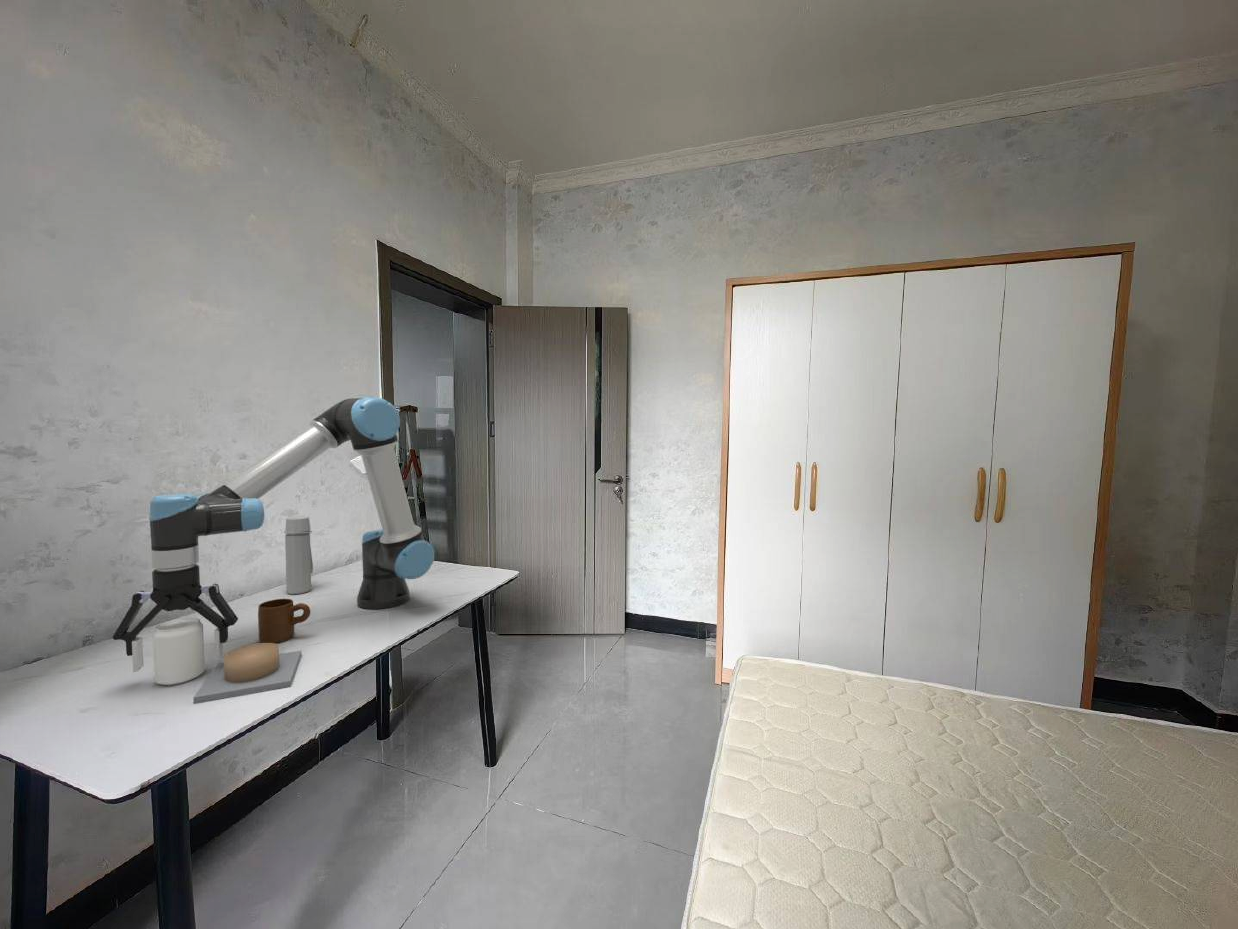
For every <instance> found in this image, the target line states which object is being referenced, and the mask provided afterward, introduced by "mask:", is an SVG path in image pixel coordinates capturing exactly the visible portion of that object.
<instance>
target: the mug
mask: <svg viewBox="0 0 1238 929" xmlns="http://www.w3.org/2000/svg"><path fill="white" fill-rule="evenodd" d="M300 610H302V612H303V613H302V615H298V616H295V612H297V611H300ZM310 615H311V608H310V606H309V605H308V604H306V603H303V602H302V603H301V602H300V603H296V604H294V600H293V599H291V598H278V599H271V600H270V599H269V600H267V601H264V602H262V603H260V604H259V605H258V611H257V620H258V621H257V623H258V624H257V625H258V640H259V643H275V644H279V643H280V644H281V643H283V642H286V641H288V640H291V639H292V638H293V637H294V635H295V626H296V624H300V623H301V624H302V623H303V622H306V621H307V620H308V619H309V617H310Z"/></svg>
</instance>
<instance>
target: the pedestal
mask: <svg viewBox="0 0 1238 929" xmlns="http://www.w3.org/2000/svg"><path fill="white" fill-rule="evenodd" d="M301 658H302V650H296V651H289V652H284V653H283V652H282V653H280V647H279V644H278V643H261V642H258V643H251V644H247V645H244V646H241V647H237V648H235V649H232V650H231V651H229V652H228V653H226V654H225V655H223V661H222V662H217V664H216V665H215V666H214V668H213V669H212V670H211V672H210V674H209V675H208V676H207V677H206V679H205V680H204V681H203V683H202V685H201V687H200V688H198V691H197V692H196V693H195V695H194V696H193V704H198V703H204V702H209V701H210V702H211V701H216V700H221V699H225V698H231V697H238V696H244V695H249V694H255V693H261V692H266V691H272V690H273V691H274V690H277V689H283V688H289V687H291V685H292V683H293V680H294V678H295V675H296V673H297V672H296V671H297V669H298V666H299V664H300V661H301Z"/></svg>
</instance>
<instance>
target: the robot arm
mask: <svg viewBox="0 0 1238 929" xmlns="http://www.w3.org/2000/svg"><path fill="white" fill-rule="evenodd" d="M400 425H401V417H400V414H399V412H398V410H397V408H396V407H395V406H394V404H392V403H391V402H389V401H388V400H386V399H384V398H380V397H375V396H374V397H373V396H365V397H356V398H354V397H353V398H346V399H343V400H341V401H339V402H337V403H335V404H334V405H333V406H331V407H329V408H328V409H326V410H325V411H323V412H322V413H321V414H319V415H318V416H317V417H315V418H314V419H312V420H311V421H310V422H309V426H308V427H307V428H306V429H304V430H303V431H301V432H300V433H298V434H297V435H295V436H293V437H292V438H291V439H289V440H288V441H286V442H285V443H284V444H282V445H280V446H279V447H277V448H276V449H274V450H273V451H271V452H270V453H269V454H267V455H265V456H264V457H263V458H261V459H259V460H258V461H256V462H255V463H253V464H252V465H250V466H248V467H247V468H246V469H245V470H243V471H241V472H240V473H238V474H237V475H236V476H234V477H233V478H231V479H230V480H228V481H227V482H225V483H224V484H223V485H221V486H219V487H217V488H215V490H213V491H211V492H210V493H205V494H201V495H199V496H198V497H197V496H196V495H195V494H193V493H171V494H162V495H161V494H160V495H157V496H153V497H152V499H151V500H150V502H149V517H148V520H149V530H150V532H149V533H150V534H149V535H150V547H151V548H150V549H151V550H150V552H151V555H150V556H151V568H152V569H154V570H153V571H152V573H151V575H152V576H151V577H152V592H151V591H146V592H145V591H144V590H139V591H138V592H135V594H133V595H132V597H131V605H130V606H129V608H128V610H127V612H126V613H125V615H124V617H123V619H121V620H122V621H121V622H120V623H119V624H118V625H119V626H118V627H117V628H116V631H115V632H114V634H113V635H112V639H113V640H114V641H118V640H119V641H120V640H121V641H124V642H125V651H126V656H127V657H130V656H131V657H132V671H133V672H132V673H137V672H139V671H140V670H141V669H142V668H144V646H143V645H144V644H143V636H138V635H139V634H140V633H141V632H142V631H143V630H144V629H146V627H147V626H148V625H149V624H150V622H152V620H154V618H155V617H156V616H157V615H159V613H160V612H161V611H162V610H163V611H166V612H172V611H176V610H179V611H183V610H184V611H185V610H187V609H189V608H190V609H191V610H192V611H193V612H197V614H199V615H200V616H202V617H204V619H206V621H208V622H209V623H210V624H212V625H213V626H215V627H216V629H215V630H214V632H213V633H214V658H215V661H217V660H220V659H222V657H223V656H224V643H227V641H228V639H229V627H230V626H231V627H232V626H234V625H235V624H236V623H237V622H238V620H239V617H238V616H237V615H236V613H235V611H234V610H233V609H232V608H231V606H230V605H229V604H228V602H227V600H226V599H225V597H223V595H222V594H221V591H220V587H219V584H218V583H213V584H212V585H209V586H203V587H202V586H201V583H200V582H201V579H200V576H201V575H200V566H199V565H198V563H199V562H200V557H199V556H200V555H199V553H200V552H199V551H200V550H199V538H200V537H205V536H206V537H207V536H212V535H214V536H215V535H223V534H229V533H238V532H245V533H246V532H249V531H252V530H257V529H260V528H261V527H262V526H263V524H264V522H265V509H264V508H265V507H264V505H263V503H262V501H261V500H260V499H261V498H262V497H263V496H264V495H266V494H267V493H268V492H270V491H271V490H273V489H274V488H275V487H277V486H278V485H280V484H281V483H283V482H284V481H286V480H287V479H288V478H290V477H291V476H292V475H294V474H295V473H297V472H298V471H299V470H301V469H302V468H303V467H305V466H307V465H308V464H309V463H311V462H312V461H314V459H316V458H318V457H319V456H320V455H322V454H323V453H325V452H326V451H328V450H329V449H336V448H338V447H339V446H341V445H342V444H344V443H346V442H349V441H350V443H351V445H352V449H353V451H354V452H356V453H358V454H360V456H361V458H362V462H363V465H364V469H365V473H366V476H367V480H368V483H369V487H370V490H371V494H372V497H373V500H374V505H375V509H376V510H377V514H378V519H379V523H380V526H381V529H377V530H370V531H366V532H364V534H362V540H361V546H362V547H361V550H362V552H361V553H362V582H361V585H360V587H359V591H358V593H357V596H356V605H357V607H359V608H362V609H367V610H379V609H390V608H393V607H396V606H400V605H402V604H406V602H408V601H409V600H410V598H411V597H410V595H411V594H410V589H409V586H408V583H407V581H406V580H416V579H419V578H421V577H423V576H424V575H425V574H426V573H428V572H429V570H430V569H431V567H432V565H433V564H434V561H435V549H434V547H433V546H432V545H431V544H430V542H428V541H427V540H425V539H424V536H423V532H422V531H423V530H422V527H420V526H418V525H416V524H415V522H414V519H413V515H412V512H411V507H410V505H409V501H408V496H407V492H406V489H405V484H404V481H403V477H402V473H401V469H400V466H399V462H398V459H397V455H396V452H395V447H396V445H397V443H398V442H399V441H398V440H399V438H398V436H397V433H398V430H399V429H400ZM202 594H205V595H206V596H207V597H209V599H210V600H211V602H212V603H213V605H214V606H215V607H216V609H217V611H218V612H219V613H220V614H221V615H222V616H221V615H220V614H219V613H217V612H216V611H215V610H214V609H212V607H210V606H209V605H207V604H206V603H205V601H204V600H203V599H202V598H200V596H201V595H202ZM149 599H150V600H152V602H153V603H155V604H156V605H155V606H154V607H153V608H152V609H151V610H150V611H149V612H148V614H146V615H145V617H143V619H142V620H141V621H140V622H139V623H138V624H136V626H135V627H134V628H133V629H132V630H131V631H129V628H130V627H131V625H132V624H133V622H134V621H135V618H136V616H137V615H138V614H139V612H140V611H141V608H142V607H143V604H145V603H147V601H148V600H149Z"/></svg>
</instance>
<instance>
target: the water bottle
mask: <svg viewBox="0 0 1238 929" xmlns="http://www.w3.org/2000/svg"><path fill="white" fill-rule="evenodd" d="M310 522H311V521H310V517H309V516H306V515H302V516H301V515H299V516H289V517H287V518H285V531H284V532H283V533H284V534H285V535H284V541H285V542H284V543H285V546H284V548H285V578H286V579H285V582H286V587H285V588H286V593H287V594H289V595H301V594H305V593H308V592H310V591H311V589H312V574H313V570H314V564H313V554H312V548H311V534H312V533H313V531H311V523H310Z"/></svg>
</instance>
